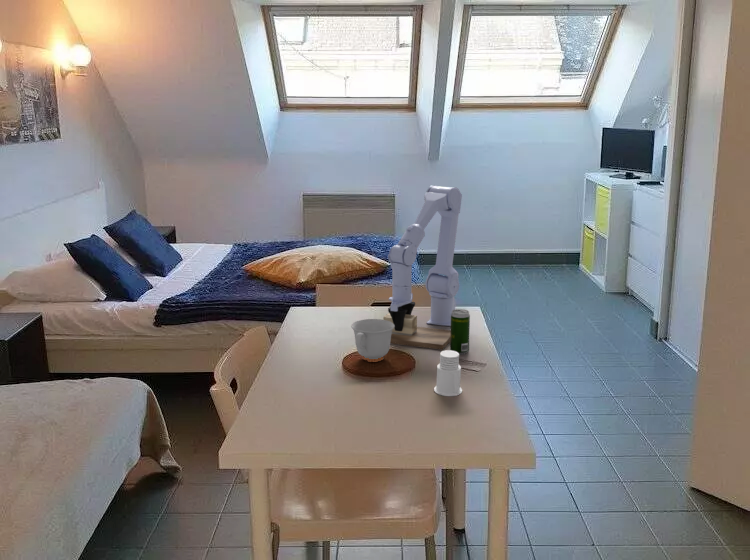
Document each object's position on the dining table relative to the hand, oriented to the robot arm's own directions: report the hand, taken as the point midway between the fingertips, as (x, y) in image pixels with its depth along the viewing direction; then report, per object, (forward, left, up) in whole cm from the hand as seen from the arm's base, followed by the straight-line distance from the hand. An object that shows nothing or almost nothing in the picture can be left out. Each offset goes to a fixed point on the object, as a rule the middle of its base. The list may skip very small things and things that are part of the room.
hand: (401, 328), depth 221 cm
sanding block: (0, 0, -1) cm, 1 cm away
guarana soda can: (+7, +20, -3) cm, 21 cm away
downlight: (+36, +25, -3) cm, 44 cm away
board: (0, +5, -3) cm, 6 cm away
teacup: (+23, -1, -3) cm, 23 cm away
